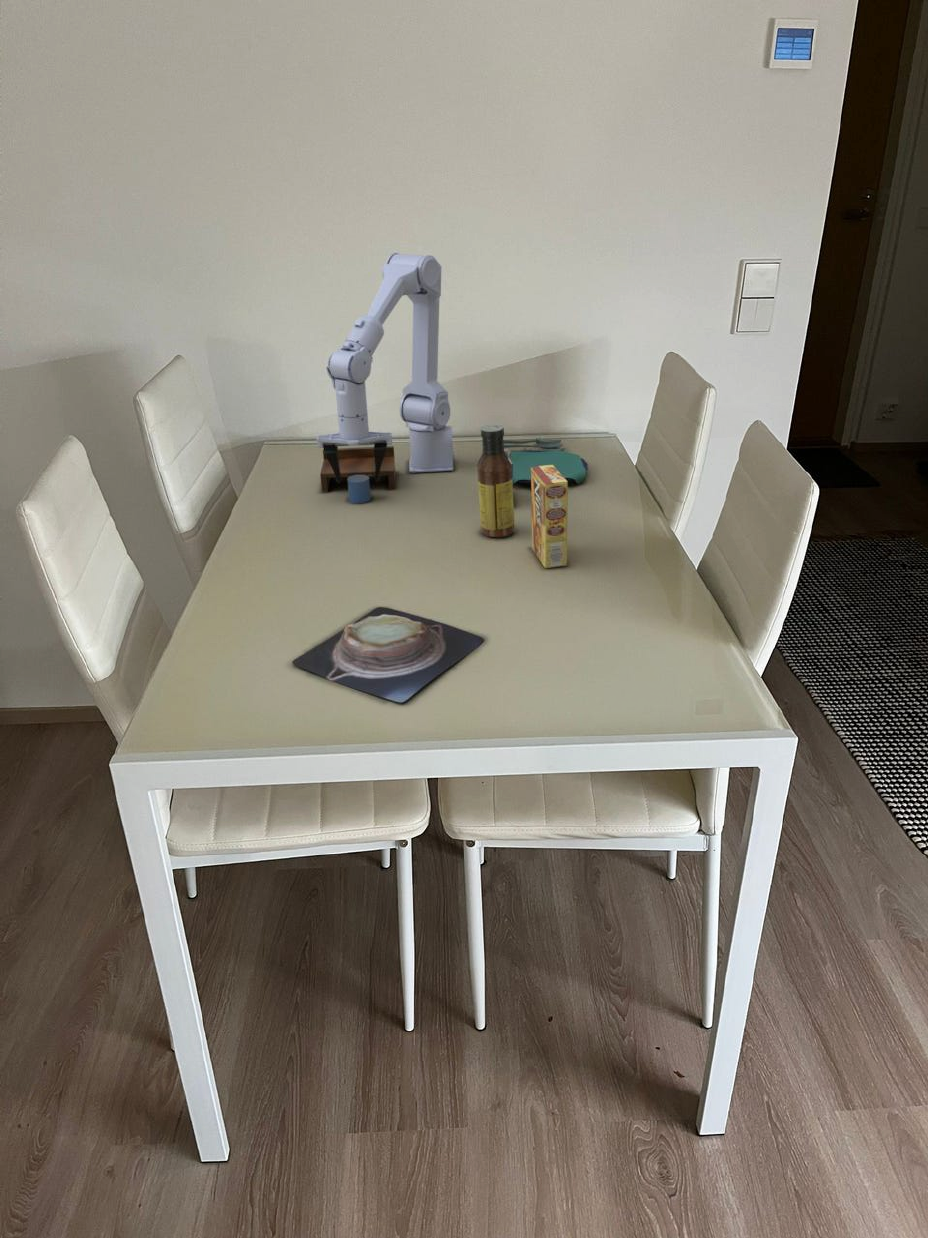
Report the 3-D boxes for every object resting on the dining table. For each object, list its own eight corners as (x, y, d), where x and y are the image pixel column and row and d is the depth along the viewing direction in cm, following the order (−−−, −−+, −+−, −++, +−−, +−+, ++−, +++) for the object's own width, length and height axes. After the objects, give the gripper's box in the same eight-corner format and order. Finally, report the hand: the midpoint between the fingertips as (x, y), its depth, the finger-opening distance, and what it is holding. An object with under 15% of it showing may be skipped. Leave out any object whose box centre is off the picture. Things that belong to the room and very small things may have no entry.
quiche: (402, 706, 127) (400, 680, 125) (288, 665, 137) (285, 641, 135) (487, 639, 142) (486, 615, 140) (379, 607, 152) (377, 584, 150)
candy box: (567, 566, 163) (570, 481, 156) (543, 569, 163) (544, 483, 155) (552, 546, 171) (554, 463, 164) (529, 548, 170) (530, 466, 163)
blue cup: (371, 495, 196) (369, 474, 194) (370, 502, 192) (368, 481, 190) (349, 496, 196) (347, 475, 193) (348, 503, 192) (346, 482, 190)
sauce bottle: (515, 525, 179) (514, 421, 170) (513, 539, 174) (512, 432, 164) (480, 525, 180) (478, 421, 171) (477, 538, 175) (474, 432, 165)
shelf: (395, 472, 207) (393, 445, 204) (395, 489, 198) (393, 461, 196) (325, 475, 207) (323, 448, 204) (322, 492, 198) (319, 464, 195)
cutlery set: (496, 492, 195) (495, 481, 194) (489, 445, 221) (489, 436, 220) (593, 489, 195) (594, 478, 194) (576, 442, 221) (576, 433, 220)
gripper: (313, 420, 182) (320, 488, 188) (389, 417, 182) (394, 485, 188) (316, 410, 188) (322, 476, 194) (390, 407, 188) (394, 473, 195)
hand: (358, 480), depth 192 cm, fingers open, 7 cm apart
